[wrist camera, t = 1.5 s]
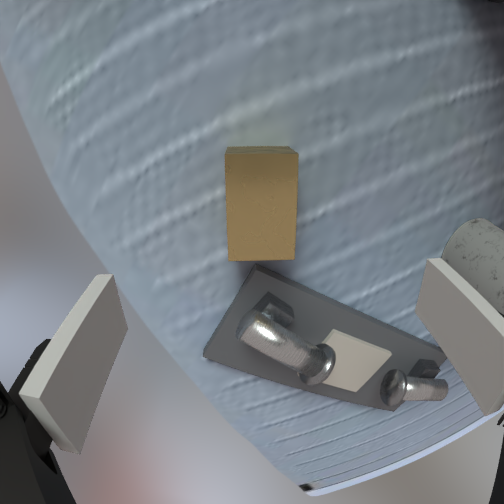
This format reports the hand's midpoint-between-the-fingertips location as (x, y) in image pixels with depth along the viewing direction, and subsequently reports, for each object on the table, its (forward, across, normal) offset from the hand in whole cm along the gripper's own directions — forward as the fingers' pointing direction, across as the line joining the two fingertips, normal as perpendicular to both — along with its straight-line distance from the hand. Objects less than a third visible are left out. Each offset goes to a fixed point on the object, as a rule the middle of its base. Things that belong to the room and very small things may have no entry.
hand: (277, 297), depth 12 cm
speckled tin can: (+16, +25, -7) cm, 30 cm away
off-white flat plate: (+15, +10, -19) cm, 26 cm away
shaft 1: (+15, +2, -13) cm, 20 cm away
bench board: (+16, +10, -19) cm, 27 cm away
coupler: (+16, 0, 0) cm, 16 cm away
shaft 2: (+15, +19, -23) cm, 33 cm away
